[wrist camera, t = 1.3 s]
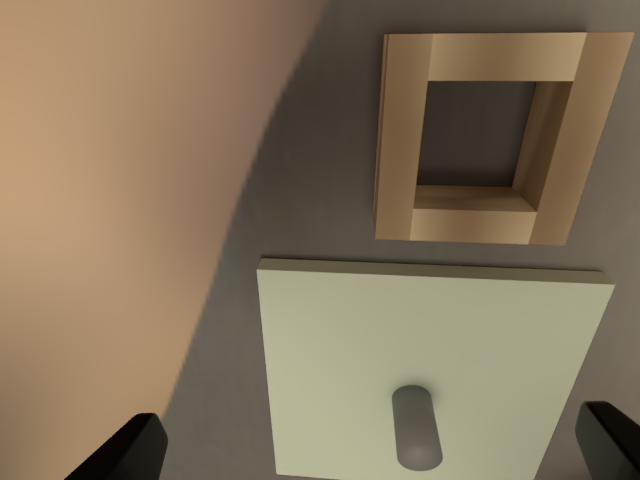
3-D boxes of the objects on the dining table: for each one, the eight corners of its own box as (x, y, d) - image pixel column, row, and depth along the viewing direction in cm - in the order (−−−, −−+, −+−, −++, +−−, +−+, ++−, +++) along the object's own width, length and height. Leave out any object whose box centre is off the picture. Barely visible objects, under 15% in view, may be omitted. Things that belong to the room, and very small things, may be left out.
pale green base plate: (602, 271, 20) (669, 337, 16) (520, 478, 29) (550, 558, 24) (261, 258, 22) (236, 315, 17) (279, 458, 30) (266, 531, 26)
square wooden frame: (587, 32, 15) (635, 32, 13) (536, 216, 19) (565, 245, 16) (384, 34, 16) (388, 34, 13) (373, 211, 20) (375, 239, 17)
